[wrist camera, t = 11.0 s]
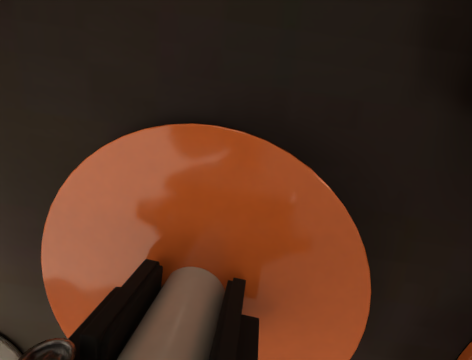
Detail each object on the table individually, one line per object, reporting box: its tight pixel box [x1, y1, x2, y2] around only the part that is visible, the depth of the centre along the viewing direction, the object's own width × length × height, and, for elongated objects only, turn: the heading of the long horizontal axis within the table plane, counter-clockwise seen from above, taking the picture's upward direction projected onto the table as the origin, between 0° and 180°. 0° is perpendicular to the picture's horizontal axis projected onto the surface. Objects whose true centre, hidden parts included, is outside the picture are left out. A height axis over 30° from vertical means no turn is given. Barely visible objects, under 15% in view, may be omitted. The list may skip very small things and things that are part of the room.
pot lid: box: [41, 123, 371, 360], centre depth 9 cm, size 15×15×6 cm
